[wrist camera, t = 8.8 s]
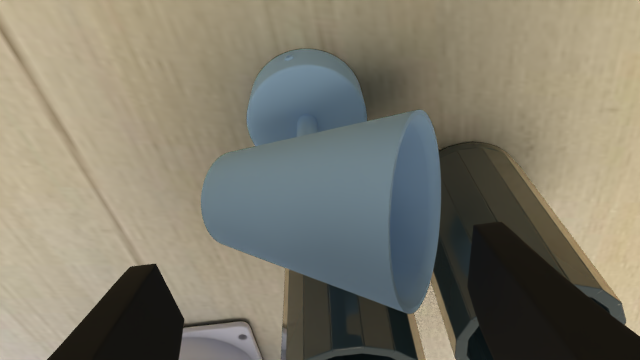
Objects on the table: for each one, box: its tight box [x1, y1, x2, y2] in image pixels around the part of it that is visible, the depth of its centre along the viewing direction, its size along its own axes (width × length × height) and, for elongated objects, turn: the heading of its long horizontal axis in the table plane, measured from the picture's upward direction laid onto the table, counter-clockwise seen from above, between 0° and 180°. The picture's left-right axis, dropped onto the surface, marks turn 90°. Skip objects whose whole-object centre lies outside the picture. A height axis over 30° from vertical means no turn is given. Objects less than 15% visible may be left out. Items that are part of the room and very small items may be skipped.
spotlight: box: [201, 49, 441, 314], centre depth 13 cm, size 5×10×7 cm
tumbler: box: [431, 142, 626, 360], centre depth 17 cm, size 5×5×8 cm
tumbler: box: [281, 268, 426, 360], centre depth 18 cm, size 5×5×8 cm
